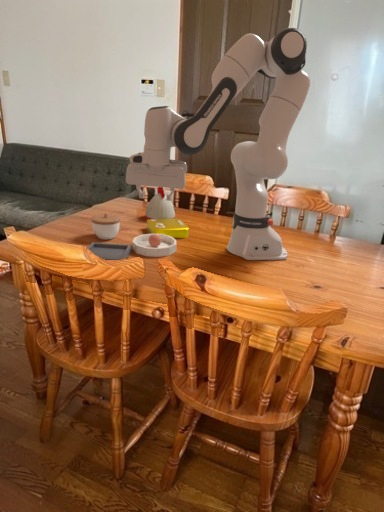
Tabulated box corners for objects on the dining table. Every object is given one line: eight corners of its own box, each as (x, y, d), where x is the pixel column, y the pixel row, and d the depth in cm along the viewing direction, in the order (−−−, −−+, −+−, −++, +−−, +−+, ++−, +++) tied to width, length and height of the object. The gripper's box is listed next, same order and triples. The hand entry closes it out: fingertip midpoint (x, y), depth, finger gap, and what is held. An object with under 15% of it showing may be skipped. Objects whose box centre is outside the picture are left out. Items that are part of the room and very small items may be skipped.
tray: (131, 250, 125) (131, 244, 125) (123, 265, 113) (123, 260, 112) (92, 247, 125) (92, 242, 125) (80, 263, 112) (79, 257, 112)
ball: (161, 244, 130) (161, 232, 128) (160, 249, 126) (160, 237, 124) (149, 243, 130) (149, 232, 128) (147, 248, 126) (147, 236, 124)
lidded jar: (113, 243, 131) (113, 219, 127) (87, 239, 132) (85, 215, 129) (124, 234, 141) (124, 211, 137) (99, 231, 142) (98, 208, 139)
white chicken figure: (169, 213, 173) (170, 183, 167) (179, 221, 161) (181, 189, 156) (141, 215, 167) (142, 184, 162) (150, 223, 156) (151, 190, 150)
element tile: (189, 238, 142) (190, 227, 140) (153, 240, 137) (153, 229, 135) (179, 227, 155) (179, 216, 153) (145, 228, 150) (145, 218, 148)
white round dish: (177, 242, 136) (177, 235, 134) (174, 258, 121) (174, 250, 120) (137, 239, 135) (137, 232, 134) (129, 255, 121) (129, 247, 120)
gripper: (188, 160, 119) (185, 199, 124) (128, 154, 119) (128, 194, 124) (187, 162, 113) (184, 204, 118) (124, 156, 113) (124, 198, 119)
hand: (155, 199), depth 121 cm, fingers open, 8 cm apart
